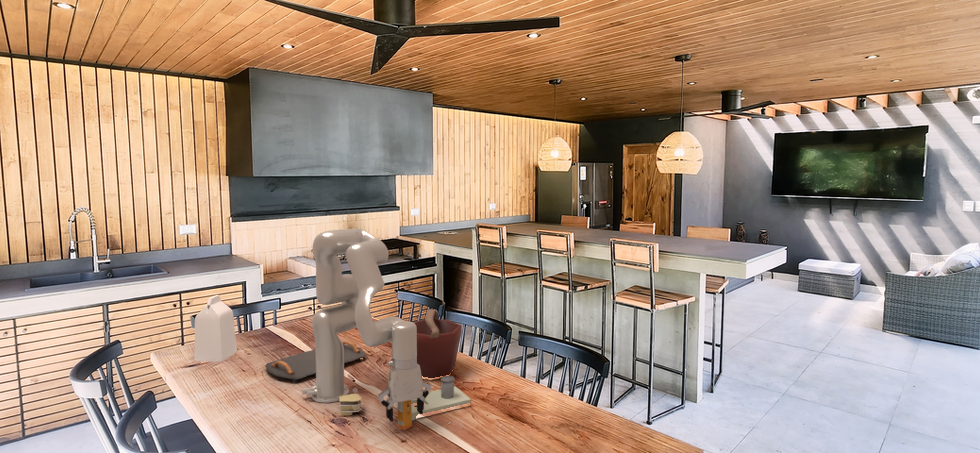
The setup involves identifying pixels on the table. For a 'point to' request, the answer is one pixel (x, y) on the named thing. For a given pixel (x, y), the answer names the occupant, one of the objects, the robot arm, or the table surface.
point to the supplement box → (404, 415)
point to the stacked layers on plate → (349, 404)
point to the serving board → (308, 363)
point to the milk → (214, 332)
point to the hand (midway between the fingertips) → (405, 415)
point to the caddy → (442, 397)
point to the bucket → (437, 345)
